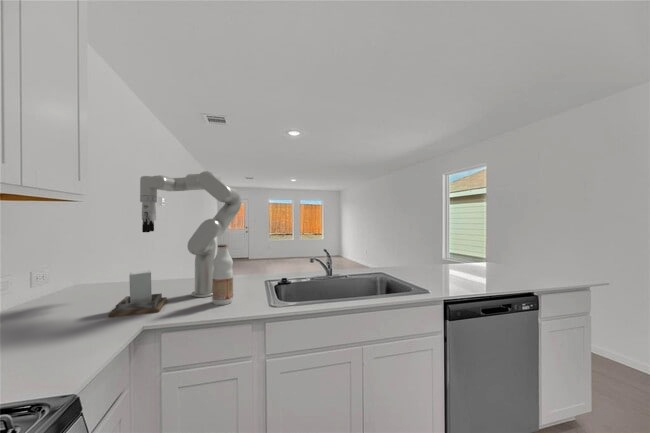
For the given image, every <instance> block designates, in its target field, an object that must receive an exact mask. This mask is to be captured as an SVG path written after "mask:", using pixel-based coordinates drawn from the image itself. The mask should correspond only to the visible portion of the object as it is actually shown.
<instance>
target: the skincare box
mask: <svg viewBox="0 0 650 433" xmlns="http://www.w3.org/2000/svg"><path fill="white" fill-rule="evenodd" d="M152 294H153V292H152V272H151V270H150V269H149V270H141V271H133V272H130V273H129V296H130V304H132V303H143V302H152Z"/></svg>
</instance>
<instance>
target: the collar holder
mask: <svg viewBox="0 0 650 433" xmlns="http://www.w3.org/2000/svg"><path fill="white" fill-rule="evenodd" d="M162 296H163V294H162V292H161V293H152V302H143V303H132V304H130V295H129V296H127V295H126V296H125V297H124V298H122V299H121V300H120V301H119V302H118V303H117V304H116V305H115V308H113V309H112V310H111V311H109V313H108V318H116V317H115V316H117V317H123V316H124V317H125V315H126V316H134V315H133V314H136V315H143V313H145V314H150V313H151V314H153V313H154V312H155V313H160V311H161V310H162V308H163V307H164V305H165V303H166V302H167V301H168V300H167V299H168V298H167V297H162Z"/></svg>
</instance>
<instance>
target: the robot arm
mask: <svg viewBox="0 0 650 433" xmlns="http://www.w3.org/2000/svg"><path fill="white" fill-rule="evenodd" d="M139 181H140V182H139V186H140V187H139V202H140V203H142V204H141V220H142V228H141V230H142V231H141V232H142V233H150V232H155V224H154V223H155V221H156V220H157V209H156V208H157V206H156V203H158V190H160V191H167V192H184V191H185V192H186V191H197V190H199V191H201V190H203V191H205V192H207V193H208V194H209V195H211V196H212V197H213V198H214V199H215V200H216V201H218V202H220V203H224V204H223V206H221V207H220V209H219V210H218V212H217V213H216V214H215V215H214V216H213V218H208V219H205V220H204V221H203V222H201V223H200V225H199V226H198V227H197V228H196V230H195V231H194V232H193V234H192V236H191V237H190V238H189V240H188V242H187V251H188V252H189V253H190V254H191V255H194V256H195V257H194V291H192V292H191V297H193V298H207V297H212V288H213V271H214V267H213V261H214V259H215V257H216V255H215V254H216V247H217V245H216V240H215V238H216V237H220V236H222V235H223V234H224V233H225V231H226V230H227V228H228V227H229V226H230V225H231V223H232V221H233V220H234V219H235V217H236V216H237V215H238V213H239V212H240V210H241V208H242V206H241V205H242V198H241V195H240V193H239V192H238V191H237V190H236V189H235V188H233V187H230V186H227V185H226V184H224V183H223V182H222V181H221V178H220V176H219V175H218V174H216V173H214V172H211V171H208V170H206V171H202V172H200V173H188V174H186V176H184V177H168V176H164V175H162V174H161V175H160V174H159V175H152V176H151V175H142V176H140V178H139Z"/></svg>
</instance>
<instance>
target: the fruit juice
mask: <svg viewBox="0 0 650 433" xmlns="http://www.w3.org/2000/svg"><path fill="white" fill-rule="evenodd" d="M233 265H234V260H233V258H232V257H231V254H230V252H229V244H227V243H222V244H221V243H220V244H218V245H217V252H216V255H215V256H214V261H213V267H214V271H213V288H212V296H211V297H212V304H213V305H217V306H222V305H224V306H225V305H229V304H232V303H233V301H234V270H233Z"/></svg>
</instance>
